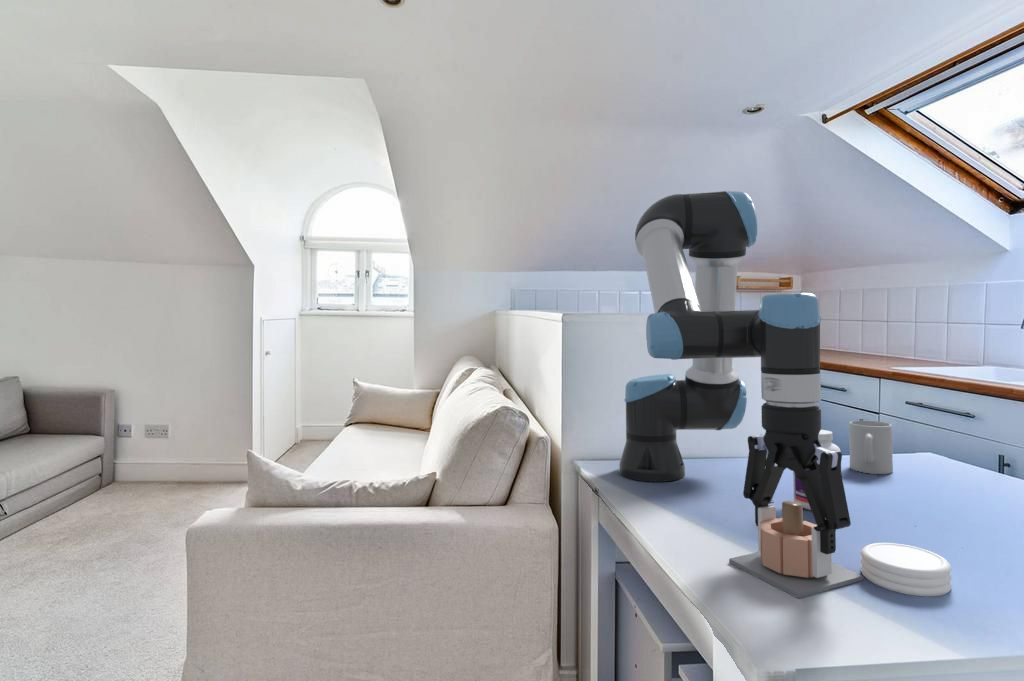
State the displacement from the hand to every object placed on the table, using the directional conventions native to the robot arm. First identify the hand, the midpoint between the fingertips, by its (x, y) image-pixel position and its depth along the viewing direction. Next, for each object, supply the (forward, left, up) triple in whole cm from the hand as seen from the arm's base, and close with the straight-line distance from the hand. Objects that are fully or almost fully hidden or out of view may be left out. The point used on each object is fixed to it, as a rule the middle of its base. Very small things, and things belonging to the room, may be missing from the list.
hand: (793, 561), depth 79 cm
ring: (0, 0, 0) cm, 0 cm away
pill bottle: (-18, +27, -2) cm, 32 cm away
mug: (-30, +59, -2) cm, 66 cm away
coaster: (+8, +11, -2) cm, 14 cm away
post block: (0, 0, -1) cm, 1 cm away
